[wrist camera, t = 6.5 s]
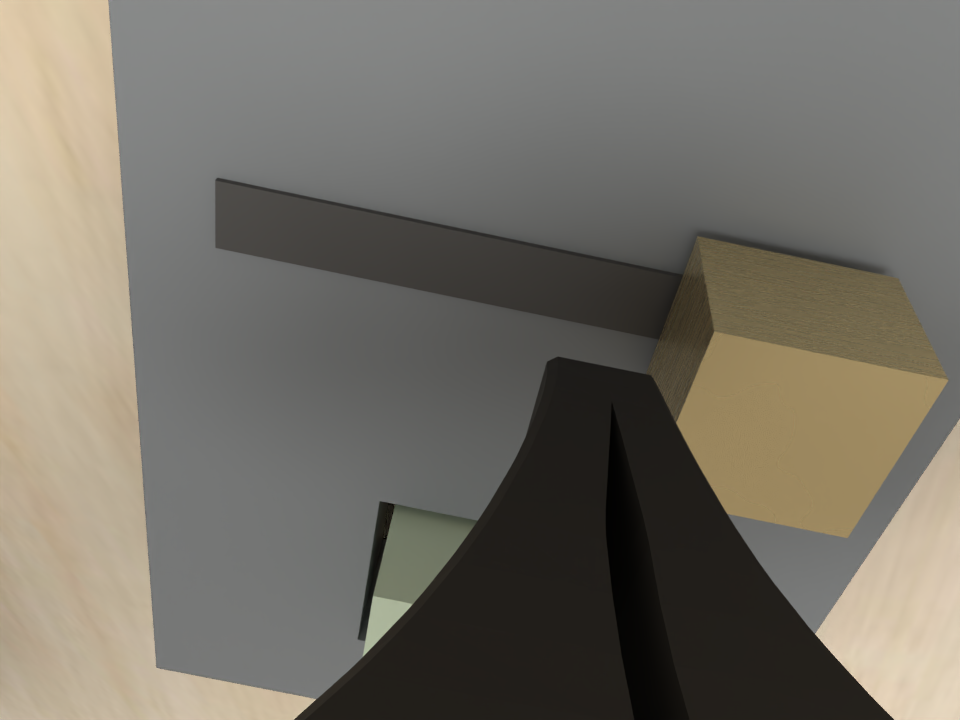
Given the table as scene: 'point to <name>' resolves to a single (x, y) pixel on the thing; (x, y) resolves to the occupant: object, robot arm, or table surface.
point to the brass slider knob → (793, 382)
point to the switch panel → (476, 261)
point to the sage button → (411, 563)
